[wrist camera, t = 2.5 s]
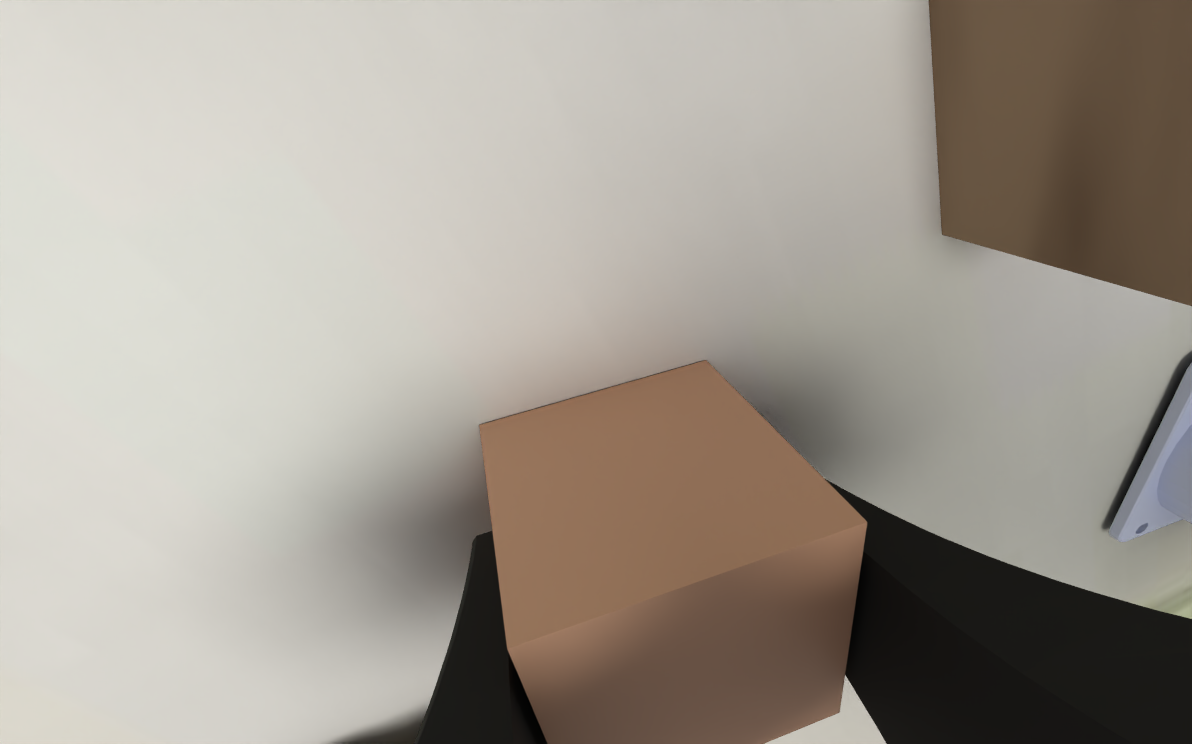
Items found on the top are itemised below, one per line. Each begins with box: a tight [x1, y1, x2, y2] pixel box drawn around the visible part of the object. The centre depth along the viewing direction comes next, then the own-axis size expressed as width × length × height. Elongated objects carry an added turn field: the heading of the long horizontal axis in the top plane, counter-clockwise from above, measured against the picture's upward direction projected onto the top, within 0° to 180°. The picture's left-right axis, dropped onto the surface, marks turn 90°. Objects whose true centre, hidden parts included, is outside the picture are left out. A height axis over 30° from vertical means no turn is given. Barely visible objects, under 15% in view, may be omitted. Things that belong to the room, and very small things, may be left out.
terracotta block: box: [479, 360, 867, 744], centre depth 10 cm, size 5×5×5 cm
